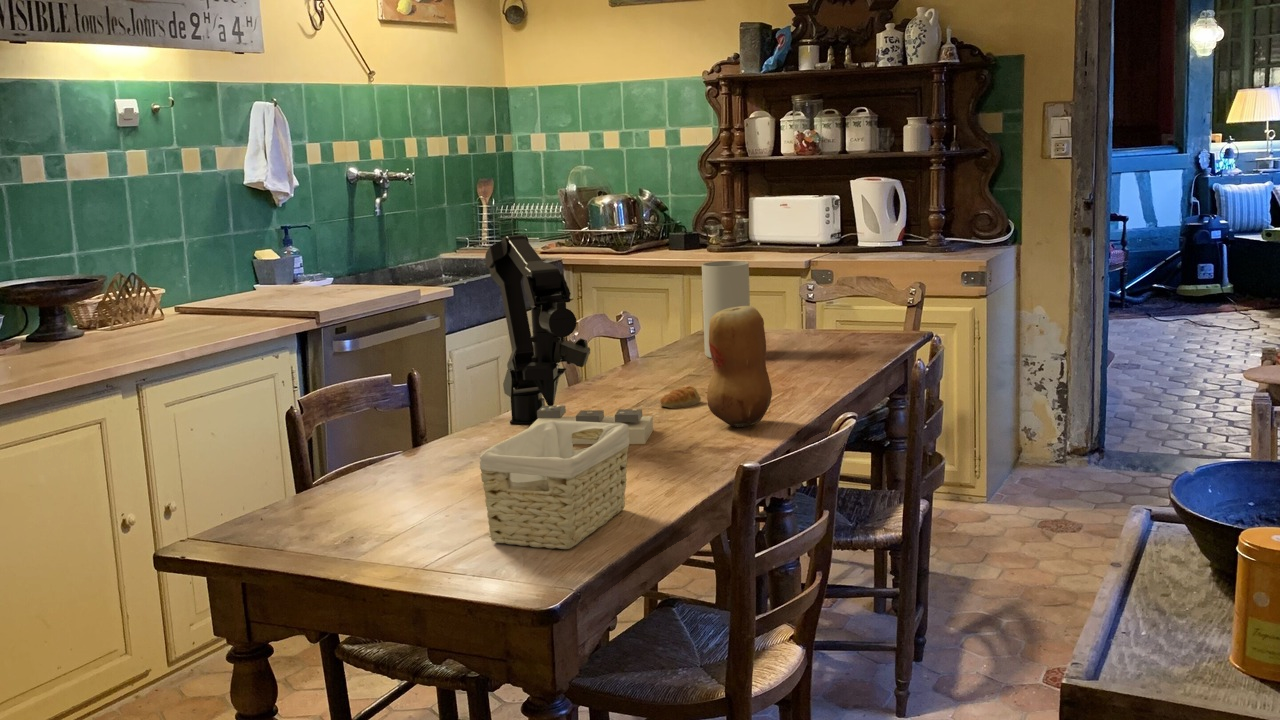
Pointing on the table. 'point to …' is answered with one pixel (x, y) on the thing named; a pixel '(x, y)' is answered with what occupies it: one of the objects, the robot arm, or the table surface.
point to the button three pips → (551, 411)
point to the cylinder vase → (723, 290)
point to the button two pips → (628, 415)
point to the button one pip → (590, 416)
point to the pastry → (681, 398)
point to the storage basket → (555, 483)
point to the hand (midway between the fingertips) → (550, 405)
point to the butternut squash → (738, 367)
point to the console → (637, 430)
